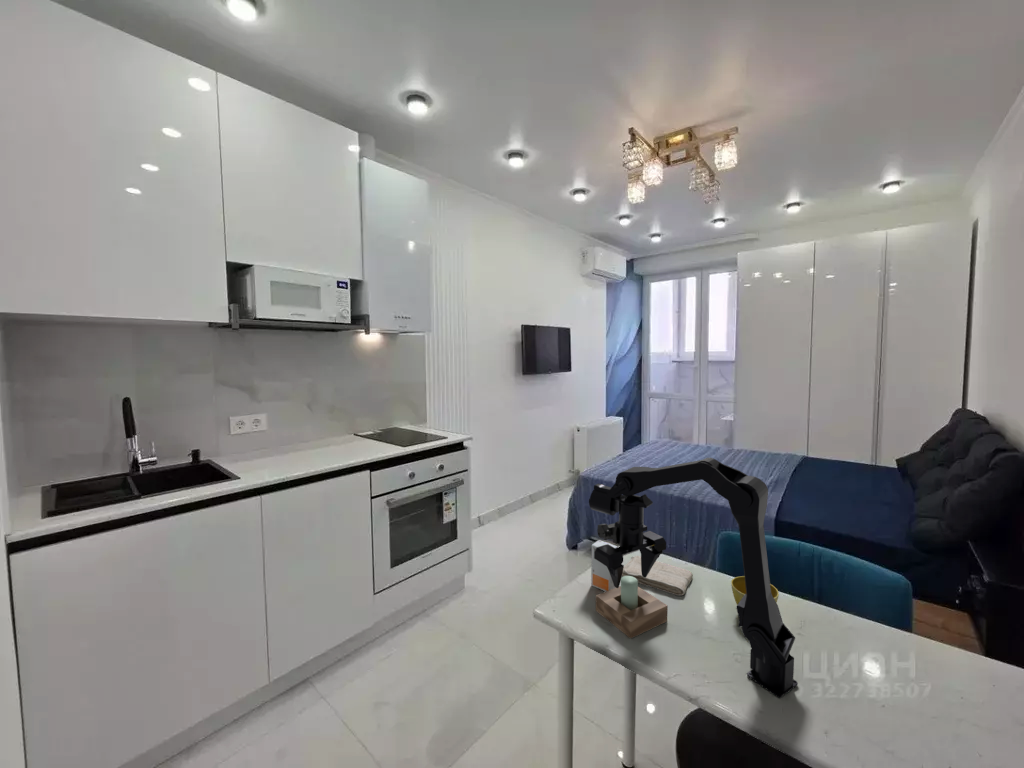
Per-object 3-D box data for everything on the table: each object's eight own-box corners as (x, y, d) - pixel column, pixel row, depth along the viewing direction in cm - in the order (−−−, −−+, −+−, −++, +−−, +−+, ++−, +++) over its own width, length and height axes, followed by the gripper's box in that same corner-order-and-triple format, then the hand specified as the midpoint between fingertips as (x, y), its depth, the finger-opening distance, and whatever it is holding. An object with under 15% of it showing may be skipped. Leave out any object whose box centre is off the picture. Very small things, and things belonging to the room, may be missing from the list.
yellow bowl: (785, 617, 103) (786, 589, 102) (765, 634, 97) (766, 604, 97) (743, 598, 111) (744, 571, 111) (722, 612, 106) (723, 584, 105)
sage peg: (641, 612, 104) (641, 581, 103) (629, 618, 102) (628, 586, 101) (629, 603, 108) (629, 574, 107) (617, 609, 106) (617, 578, 105)
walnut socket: (667, 621, 102) (667, 605, 102) (630, 638, 97) (630, 621, 96) (630, 596, 113) (630, 581, 112) (595, 610, 107) (595, 595, 107)
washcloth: (632, 561, 132) (632, 551, 132) (694, 578, 122) (694, 568, 122) (618, 578, 122) (618, 568, 122) (684, 599, 112) (684, 587, 112)
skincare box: (590, 586, 118) (590, 544, 117) (598, 579, 121) (598, 539, 120) (610, 594, 114) (610, 551, 113) (618, 587, 117) (618, 545, 116)
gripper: (634, 502, 114) (634, 558, 116) (579, 516, 105) (579, 577, 107) (668, 516, 105) (667, 577, 106) (610, 533, 95) (610, 599, 97)
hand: (630, 581), depth 104 cm, fingers open, 9 cm apart
